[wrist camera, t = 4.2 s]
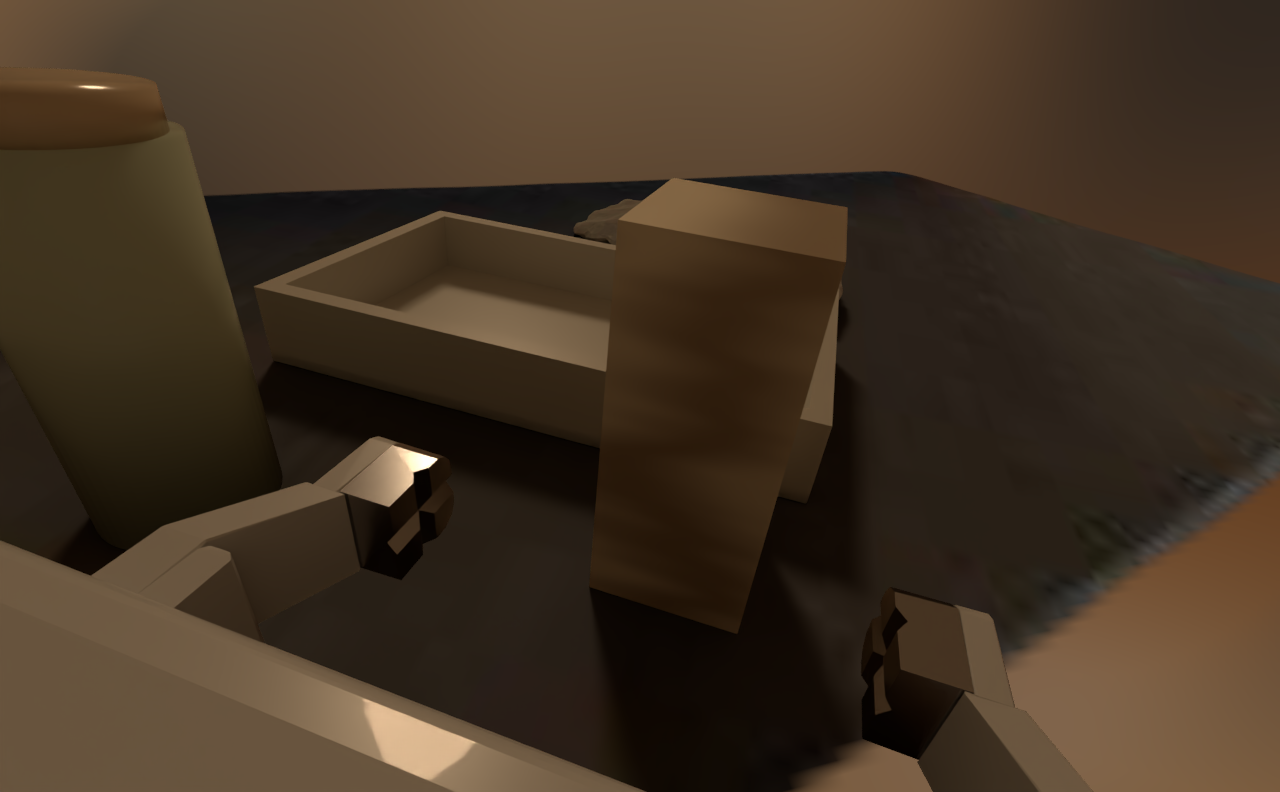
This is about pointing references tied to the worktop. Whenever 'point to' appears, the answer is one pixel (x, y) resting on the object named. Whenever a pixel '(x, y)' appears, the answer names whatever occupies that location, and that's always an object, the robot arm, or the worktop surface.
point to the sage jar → (122, 305)
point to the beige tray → (486, 328)
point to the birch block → (706, 388)
